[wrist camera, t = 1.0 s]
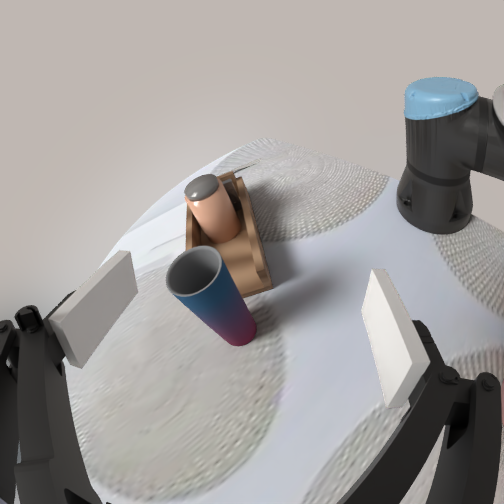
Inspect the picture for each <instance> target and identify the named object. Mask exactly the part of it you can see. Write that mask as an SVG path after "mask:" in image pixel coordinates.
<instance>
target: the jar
mask: <svg viewBox="0 0 504 504" xmlns="http://www.w3.org/2000/svg"><path fill="white" fill-rule="evenodd" d="M184 193H185V201H186V202H187V204H188V206H189V207H190V209H191V211H192V212H193V214H194V216H195V217H196V219H197V221H198V222H199V224H200V226H201V227H202V229H203V231H204V232H205V234H206V236H207V237H208V239H209V241H210V242H212V243H215V244H222V243H226V242H228V241H230V240H232V239H233V238H235V237H236V236H237V235H238V233H239V232H240V230H241V226H242V225H241V222H240V219H239V217H238V215H237V213H236V211H235V209H234V207H233V205H232V202H231V200H230V198H229V196H228V194H227V192H226V190H225V188H224V186H223V183H222V181H221V180H220V179H218V178H216V176H215V175H213V174H206V175H202V176H200V177H197V178H196V179H194V180H193V181H191V182H190V183H189V184H188V185H187V186H186V188H185V191H184Z"/></svg>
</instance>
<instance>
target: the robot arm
mask: <svg viewBox="0 0 504 504" xmlns="http://www.w3.org/2000/svg"><path fill="white" fill-rule="evenodd" d="M404 115H405V122H406V144H407V146H406V147H407V165H406V167H405V170H404V173H403V175H402V177H401V180H400V182H399V185H398V188H397V207H398V210H399V212H400V213H401V215H402V216H403V217H404V218H405V219H406V220H407V221H408V222H409V223H410V224H412V225H413V226H415V227H417V228H419V229H421V230H423V231H426V232H430V233H434V234H450V233H454V232H457V231H459V230H461V229H462V228H464V227H465V226H466V225H467V223H468V222H469V220H470V216H471V212H472V207H473V201H472V193H471V185H470V179H469V178H470V171H471V170H474V171H477V172H480V173H483V174H486V175H489V176H492V177H495V178H497V179H500V180H503V181H504V84H503V85H501V86H499V87H498V88H497V89H496V90H495V92H494V96H493V100H491V99H487V98H483V97H480V96H478V92H477V89H476V87H475V86H474V85H473V84H471V83H469V82H465V81H462V80H460V79H455V78H447V77H433V78H425V79H420V80H417V81H415V82H413V83H411V84H410V85H409V86H408V87H407V88H406V90H405V110H404ZM137 293H138V289H137V284H136V279H135V274H134V269H133V264H132V258H131V253H130V251H120V250H119V251H118V252H117V253H116V254H115V255H114V256H113V257H111V258H110V259H109V260H108V261H107V262H106V263H105V264H104V265H103V266H102V267H100V268H99V269H98V270H97V271H96V272H95V273H94V274H93V275H92V276H91V277H90V278H89V279H88V280H87V281H86V282H84V283H83V284H82V285H81V286H80V287H79V288H78V289H77V290H75V291H73V292H72V293H70V294H68V295H67V296H66V297H65V298H64V299H63V300H62V302H60V303H59V304H58V306H56V307H55V308H54V309H53V310H52V311H51V312H50V313H49V314H48V315H47V316H46V318H44V319H43V320H42V318H41V315H40V313H39V311H38V308H37V307H36V306H33V305H30V306H26V307H23V308H21V309H20V310H19V311H18V312H17V313H16V314H15V319H16V321H17V323H18V326H19V328H20V329H15V327H14V325H13V323H12V322H11V321H10V320H4V321H0V504H14V498H15V488H16V485H17V490H18V495H19V499H20V504H102V502H101V500H100V498H99V496H98V495H97V494H96V492H95V491H94V489H93V488H92V486H91V484H90V481H89V478H88V475H87V472H86V469H85V465H84V462H83V458H82V455H81V451H80V448H79V444H78V440H77V436H76V431H75V427H74V422H73V417H72V412H71V407H70V401H69V395H68V389H67V382H66V374H65V366H64V363H63V361H62V360H63V358H64V357H65V356H66V358H67V359H68V361H69V363H70V365H73V366H75V367H78V368H81V369H82V368H83V366H84V365H85V364H86V362H87V361H88V359H89V358H90V356H91V355H92V354H93V352H94V351H95V349H96V348H97V347H98V345H99V344H100V342H101V341H102V340H103V338H104V337H105V335H106V334H107V333H108V331H109V330H110V329H111V327H112V326H113V325H114V323H115V322H116V321H117V319H118V318H119V317H120V315H121V314H122V313H123V311H124V310H125V309H126V307H127V306H128V305H129V304H130V302H131V301H132V300H133V298H134V297H135V296H136V294H137ZM361 313H362V316H363V319H364V323H365V326H366V330H367V333H368V337H369V340H370V344H371V348H372V351H373V355H374V359H375V363H376V367H377V371H378V375H379V379H380V383H381V388H382V392H383V396H384V401H385V406H386V409H390V408H400V407H403V406H404V404H405V403H406V401H407V400H408V399H409V403H410V408H409V409H408V411H407V412H406V413H405V415H404V416H403V417H402V419H401V422H400V423H399V425H398V427H397V428H396V430H395V431H394V433H393V434H392V436H391V437H390V438H389V440H388V441H387V443H386V444H385V446H384V447H383V448H382V450H381V451H380V452H379V454H378V455H377V456H376V458H375V459H374V460H373V462H372V463H371V464H370V466H369V467H368V468H367V469H366V471H365V472H364V473H363V474H362V476H361V477H360V478H359V479H358V480H357V481H356V483H355V484H354V485H353V486H352V487H351V488H350V490H349V491H348V492H347V493H346V494H345V495H344V496H343V497H342V498H341V499H340V500H339V502H338V503H337V504H399V503H400V502H401V500H402V499H403V497H404V496H405V495H406V493H407V492H408V490H409V488H410V487H411V485H412V484H413V482H414V481H415V479H416V477H417V476H418V474H419V472H420V471H421V469H422V467H423V465H424V464H425V462H426V460H427V458H428V456H429V455H430V453H431V451H432V449H433V447H434V445H435V443H436V441H437V439H438V437H439V435H440V433H441V431H442V428H443V426H444V425H446V426H445V432H444V437H443V442H442V447H441V452H440V456H439V460H438V464H437V468H436V472H435V476H434V479H433V483H432V486H431V489H430V492H429V495H428V499H427V501H426V504H493V502H494V497H495V491H496V485H497V479H498V471H499V463H500V451H501V433H502V403H501V386H500V382H499V381H498V379H497V378H496V377H495V376H494V375H493V374H491V373H488V372H483V373H480V374H479V375H478V377H477V378H476V379H475V380H469V379H463V378H460V375H459V373H458V372H457V371H456V370H455V369H453V368H452V367H450V366H447V365H445V363H444V361H443V359H442V357H441V355H440V352H439V350H438V348H437V346H436V344H435V343H434V340H433V338H432V337H431V334H430V332H429V330H428V328H427V327H426V326H425V325H424V324H423V323H422V322H421V321H420V320H411V318H410V316H409V314H408V312H407V310H406V308H405V306H404V304H403V302H402V300H401V298H400V296H399V294H398V292H397V290H396V288H395V287H394V285H393V283H392V281H391V279H390V277H389V275H388V274H387V272H386V270H385V269H372V271H371V275H370V279H369V283H368V287H367V291H366V295H365V299H364V303H363V307H362V310H361ZM7 359H8V361H9V362H10V366H9V367H8V366H7V365H6V360H7ZM19 441H20V451H21V463H18V464H17V454H18V443H19ZM106 504H111V503H108V502H106Z"/></svg>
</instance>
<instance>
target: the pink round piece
mask: <svg viewBox="0 0 504 504" xmlns="http://www.w3.org/2000/svg"><path fill="white" fill-rule="evenodd" d="M501 403H502V424H503V426H504V380H503V383H502V387H501Z"/></svg>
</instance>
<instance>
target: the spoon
mask: <svg viewBox="0 0 504 504" xmlns="http://www.w3.org/2000/svg"><path fill="white" fill-rule="evenodd" d="M261 160H262V159H257V160H254V161H252V162H250V163H248V164H245V165H243V166H240V167H238V168H236V169H234V170H231V171H233V172H234V171H236V170H239V169H243V168H246V167H249V166H252V165H254V164H256V163H258V162H260V161H261ZM231 171H229V172H231ZM226 173H228V172H226ZM224 174H225V173H224ZM221 175H223V174H221ZM219 176H220V175H219Z"/></svg>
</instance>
